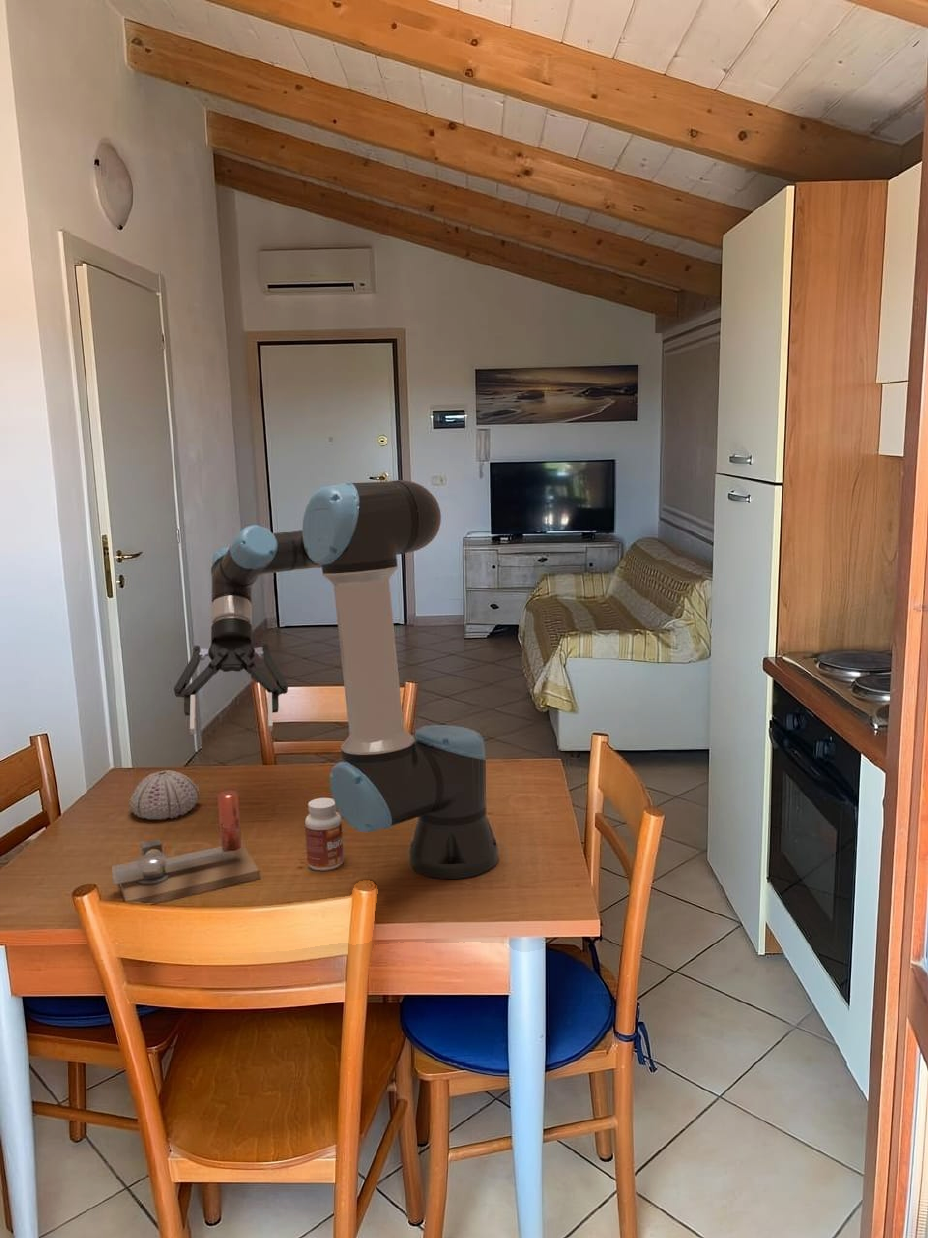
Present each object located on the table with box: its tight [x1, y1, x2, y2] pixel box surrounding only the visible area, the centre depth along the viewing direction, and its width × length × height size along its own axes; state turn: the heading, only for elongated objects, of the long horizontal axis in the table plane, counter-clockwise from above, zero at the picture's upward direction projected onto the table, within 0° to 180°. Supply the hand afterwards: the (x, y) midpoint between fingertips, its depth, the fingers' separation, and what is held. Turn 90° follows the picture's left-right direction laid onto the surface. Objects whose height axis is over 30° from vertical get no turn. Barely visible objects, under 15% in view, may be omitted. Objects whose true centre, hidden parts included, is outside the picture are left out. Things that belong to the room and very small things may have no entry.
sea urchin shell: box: [128, 769, 201, 821], centre depth 185 cm, size 13×14×8 cm
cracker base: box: [119, 838, 261, 904], centre depth 157 cm, size 21×14×4 cm
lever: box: [111, 790, 242, 886], centre depth 154 cm, size 21×4×11 cm, turn 117°
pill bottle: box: [304, 797, 345, 871], centre depth 159 cm, size 6×6×11 cm
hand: (231, 730), depth 169 cm, fingers open, 13 cm apart
